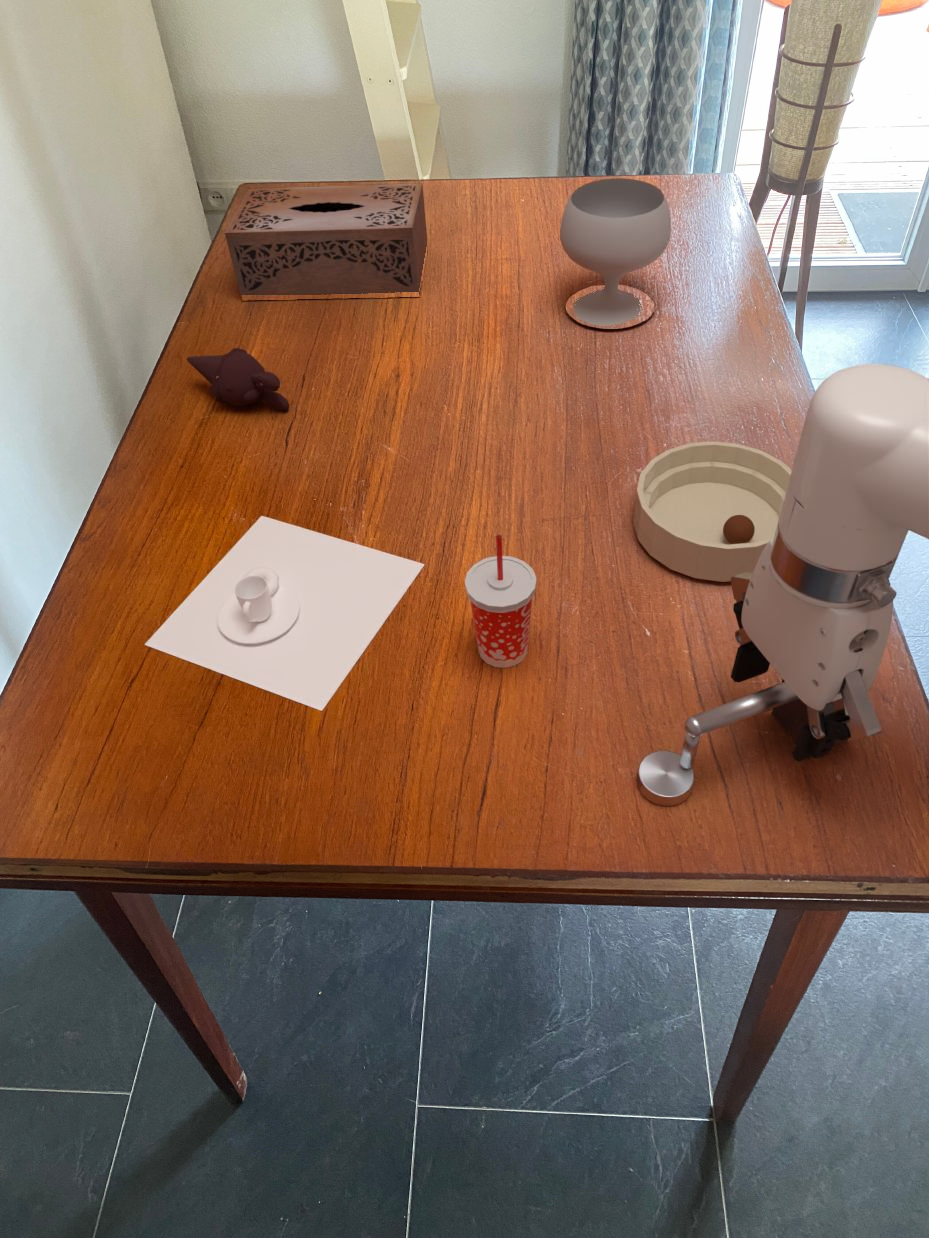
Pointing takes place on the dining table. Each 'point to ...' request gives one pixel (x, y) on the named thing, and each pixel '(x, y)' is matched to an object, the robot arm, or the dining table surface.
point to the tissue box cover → (329, 239)
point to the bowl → (708, 507)
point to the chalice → (614, 241)
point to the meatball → (738, 529)
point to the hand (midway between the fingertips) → (778, 712)
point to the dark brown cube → (798, 718)
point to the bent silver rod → (671, 773)
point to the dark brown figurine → (239, 379)
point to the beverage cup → (501, 607)
